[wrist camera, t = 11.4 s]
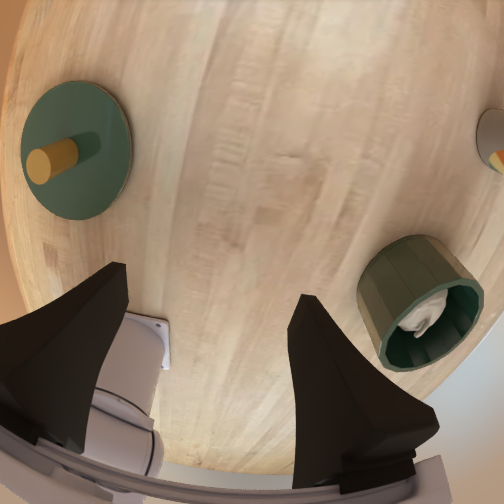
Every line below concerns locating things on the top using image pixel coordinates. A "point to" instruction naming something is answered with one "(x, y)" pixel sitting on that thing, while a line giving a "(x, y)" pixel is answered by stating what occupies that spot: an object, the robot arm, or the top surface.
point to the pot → (417, 301)
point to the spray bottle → (492, 139)
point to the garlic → (425, 314)
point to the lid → (76, 150)
